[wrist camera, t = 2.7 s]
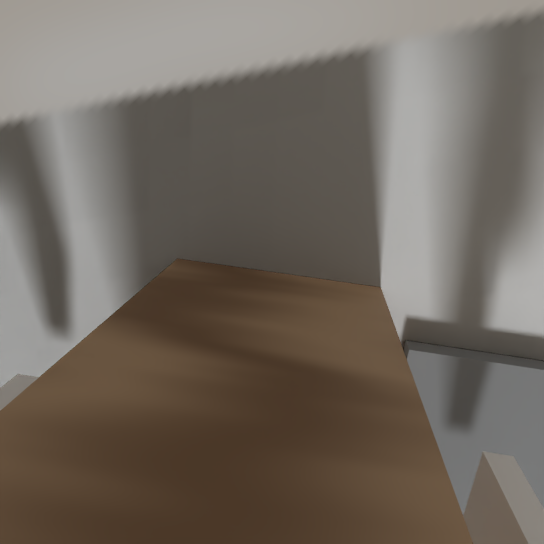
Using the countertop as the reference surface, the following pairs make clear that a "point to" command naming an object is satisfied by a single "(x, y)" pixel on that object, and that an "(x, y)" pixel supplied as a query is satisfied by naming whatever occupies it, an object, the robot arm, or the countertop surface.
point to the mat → (481, 410)
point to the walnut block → (229, 423)
